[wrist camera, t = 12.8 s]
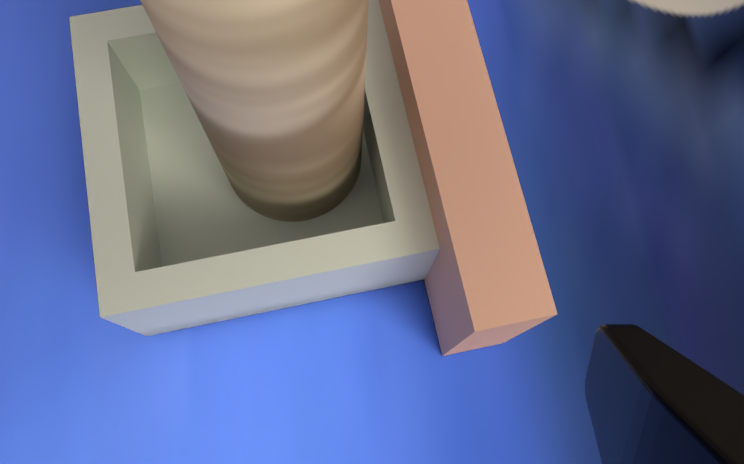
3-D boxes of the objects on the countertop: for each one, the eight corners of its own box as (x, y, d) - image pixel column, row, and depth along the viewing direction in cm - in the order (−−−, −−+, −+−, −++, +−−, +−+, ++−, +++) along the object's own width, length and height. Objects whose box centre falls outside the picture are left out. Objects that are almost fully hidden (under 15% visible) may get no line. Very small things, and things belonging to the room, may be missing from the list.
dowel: (327, 243, 21) (294, -28, 8) (201, 188, 21) (-10, -149, 9) (382, 125, 22) (426, -265, 10) (262, 76, 22) (152, -364, 10)
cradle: (424, 279, 22) (440, 248, 18) (147, 336, 21) (100, 317, 17) (367, 39, 24) (370, -34, 20) (116, 83, 23) (69, 16, 19)
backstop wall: (502, 343, 21) (557, 314, 16) (442, 356, 21) (475, 331, 15) (406, -25, 25) (421, -158, 19) (354, -16, 25) (353, -148, 19)
